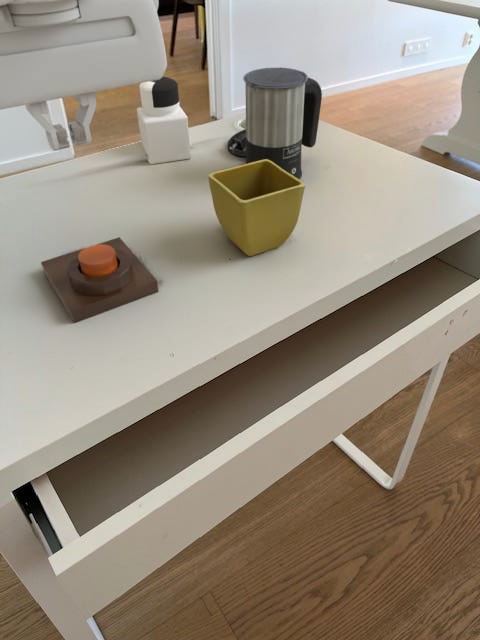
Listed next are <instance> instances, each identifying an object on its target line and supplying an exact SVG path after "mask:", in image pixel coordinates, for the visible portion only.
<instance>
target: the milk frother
mask: <svg viewBox="0 0 480 640" xmlns="http://www.w3.org/2000/svg"><path fill="white" fill-rule="evenodd" d="M242 80H243V82H244V83H245V129H242V130H240V131H238V132H237V133H235V134H233V135H232V136H231V137H230V138H229V139H228V142H227V145H226V147H227V151H228V152H229V154H231V155H232V156H234V157H235V158H238V159H245V164H248V163H252V162H256V161H259V160H264V159H268V160H270V161H272V162H273V163H275V164H276V165H278V166H279V167H280V168H282V169H283V170H285V171H286V172H287V173H289V174H291V175H293V176H294V177H296V178H297V179H299V180H301V178H302V176H303V170H302V146H304V147H306V148H313V147H314V146H315V145H316V142H317V136H318V130H319V122H320V114H321V107H322V100H323V97H322V96H323V92H322V87H321V85H320V83H319V82H318V81H317V80H315V79H313V78H311V77H309V76H308V74H307V73H305V72H304V71H301V70H298V69H296V68H291V67H290V68H289V67H262V68H257V69H254V70H253V69H252V70H251V71H249V72H247V73H245V74H244V75H243V77H242Z"/></svg>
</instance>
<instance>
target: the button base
mask: <svg viewBox="0 0 480 640" xmlns="http://www.w3.org/2000/svg"><path fill="white" fill-rule="evenodd" d="M99 244H102V245H108V246H111V247H112V248H113V249H114V250H115V253H116V258H117V263H118V267H117V269H116V270H115V271H113V272H112V273H109V274H106V275H103V276H95V277H89V276H86V275H84V274H83V273H82V270H81V267H80V263H79V259H78V255H79V253H80V252H81V251H82V250H83V249H85V248H86V247H84V248H80V249H78V250H74V251H72V252H68V253H65V254H61V255H58V256H55V257H52V258H49V259H46V260H43V261H41V262H40V265H41V268H42V271H43V274H44V275H45V277H46V279H47V280H48V282H49V284H50V285H51V287H52V289H53V290H54V292H55V294H56V295H57V298H58V299H59V300H60V302H61V303H62V306H63V307H64V309H65V310H66V312H67V314H68V316H69V317H70V319H71V320H72V322H73V324H77V323H80V322H82V321H85V320H87V319H90V318H93V317H96V316H98V315H101V314H104V313H106V312H109V311H112V310H113V309H114V310H115V309H117V308H120V307H122V306H125V305H128V304H130V303H134V302H136V301H138V300H141V299H143V298H146V297H150V296H152V295H155V294H157V293H159V292H160V291H159V284H158V279H156V278H155V276H154V275H153V274H152V273H151V272H150V270H149V269H148V268H147V267H146V266H145V265H144V264H143V263H142V261H141V260H140V259H139V258H138V256H137V255H136V254H134V252H133V251H132V250H131V249H130V248H129V246H128V245H127V244H126V243H125V242H124V240H122V238H121V237H116V238H112V239H109V240H106V241H102V242H99V243H96V244H95V245H99Z"/></svg>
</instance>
